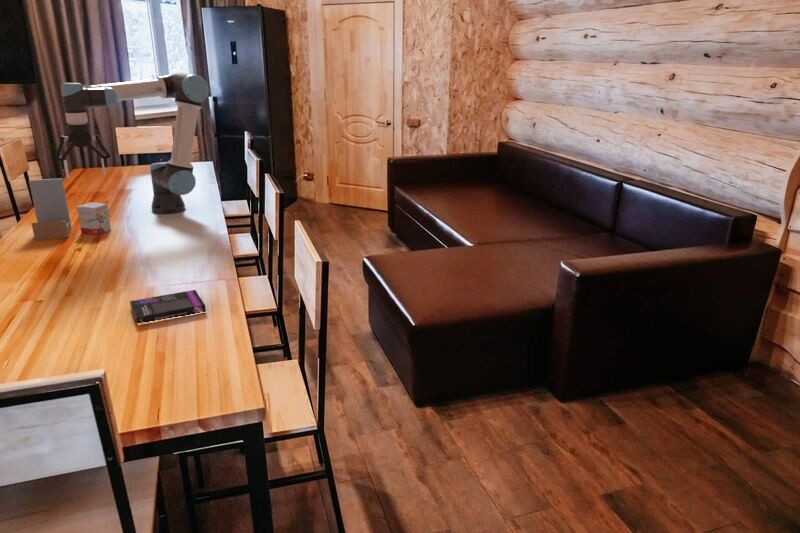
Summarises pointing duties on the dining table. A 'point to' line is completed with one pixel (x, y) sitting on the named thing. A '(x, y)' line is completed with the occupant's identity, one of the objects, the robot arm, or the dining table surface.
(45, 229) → the grey magazine holder
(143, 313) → the box
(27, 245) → the dining table surface
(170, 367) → the dining table surface
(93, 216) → the ink box
